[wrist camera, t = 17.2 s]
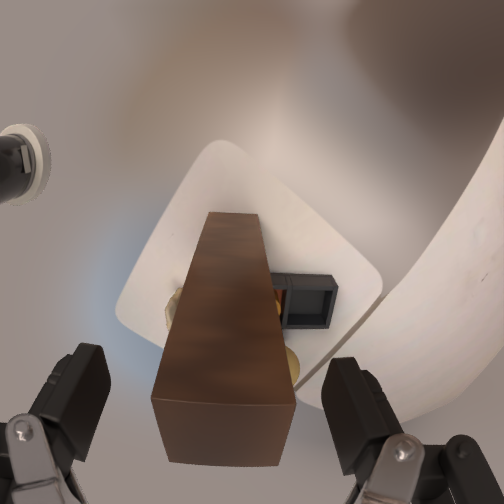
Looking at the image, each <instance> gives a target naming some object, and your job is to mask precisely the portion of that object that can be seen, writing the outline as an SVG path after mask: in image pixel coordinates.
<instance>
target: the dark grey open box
mask: <svg viewBox="0 0 504 504" xmlns="http://www.w3.org/2000/svg"><path fill="white" fill-rule="evenodd" d="M270 275H271V280H272V285H273V289H275V290H276V291H277V294H278V298H279V302H280V307H281V312H280V315H279V319H280V324H281V329H324V328H325V329H329V326H330V322H331V317H332V313H333V309H334V304H335V300H336V295H337V291H338V285H337V283H336V282H335V280H334V278H333V277H332V275H316V274H285V273H270Z"/></svg>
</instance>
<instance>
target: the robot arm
mask: <svg viewBox="0 0 504 504" xmlns="http://www.w3.org/2000/svg"><path fill="white" fill-rule="evenodd" d="M35 171H36V159H35V153H34V150H33V147H32V145H31V143H30V142H29V140H28V139H27V138H26V137H25V136H23V135H21V134H18V133H13V134H8V135H4V136H0V204H3V203H5V202H7V201H9V200H12V199H15V198H18V197H20V196H22V195H24V194H25V193H26V192H27V191H28V190H29V188H30V187H31V185H32V183H33V180H34V177H35ZM110 388H111V378H110V373H109V370H108V366H107V363H106V359H105V355H104V351H103V348H102V347H101V346H100V345H94V344H88V343H80V344H79V345H78V347H77V349H76V350H75V352H74V353H73V355H70V354H67V355H66V356H65V357H64V358H62V359H61V360H60V361H58V362H57V364H56V366H55V367H54V369H53V371H52V374H50V376H49V377H48V379H47V382H46V383H45V384H44V386H43V387H42V389H41V391H40V393H39V394H38V396H37V398H36V399H35V401H34V403H33V405H32V407H31V409H30V410H29V412H28V413H27V414H19V415H16V416H14V417H13V418H12V419H10V420H9V422H8V423H0V504H89V503H88V501H87V500H86V497H85V496H84V493H83V491H82V489H81V487H80V485H79V483H78V480H77V478H76V476H75V473H74V471H73V469H72V467H71V465H72V463H73V460H74V459H76V460H79V461H82V462H85V459H86V457H87V454H88V451H89V448H90V444H91V442H92V439H93V436H94V433H95V430H96V427H97V425H98V422H99V419H100V416H101V414H102V411H103V408H104V406H105V403H106V400H107V397H108V395H109V392H110ZM321 400H322V405H323V408H324V411H325V415H326V418H327V421H328V424H329V428H330V431H331V434H332V438H333V441H334V444H335V448H336V451H337V455H338V458H339V461H340V465H341V468H342V472H343V475H344V476H345V475H351V474H355V477H356V482H355V483H354V485H353V487H352V489H351V491H350V493H349V495H348V497H347V498H346V500H345V502H344V504H410V502H411V503H412V504H455V503H456V504H504V496H503V494H502V492H501V489H500V487H499V485H498V483H497V481H496V479H495V477H494V475H493V473H492V471H491V469H490V467H489V465H488V463H487V461H486V459H485V457H484V455H483V453H482V451H481V449H480V447H479V445H478V444H477V442H476V441H475V440H474V439H473V438H471V437H469V436H467V435H456V436H453V437H452V438H451V439H450V440H449V441H448V442H447V443H446V445H423V444H422V443H421V442H420V441H419V440H418V439H417V438H416V437H414V436H412V435H410V434H405V433H404V432H403V430H402V428H401V426H400V424H399V422H398V420H397V418H396V416H395V414H394V412H393V410H392V408H391V406H390V404H389V402H388V400H387V398H386V396H385V394H384V392H382V388H381V386H380V384H379V382H378V380H377V379H376V378H375V377H374V376H373V375H372V374H371V373H370V372H369V371H367V370H360V368H359V365H358V363H357V361H356V360H355V358H354V357H343V358H332V359H331V361H330V364H329V367H328V371H327V374H326V377H325V380H324V383H323V386H322V391H321ZM449 488H450V490H451V493H452V495H453V498H454V500H455V503H454V500H453V498H452V495H451V493H450V490H449Z"/></svg>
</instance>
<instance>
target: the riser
mask: <svg viewBox="0 0 504 504" xmlns="http://www.w3.org/2000/svg"><path fill="white" fill-rule="evenodd" d="M151 402H152V405H153V409H154V413H155V417H156V420H157V424H158V427H159V431H160V434H161V437H162V441H163V444H164V447H165V450H166V453H167V456H168V459H169V462H175V463H184V464H195V465H209V466H231V467H233V466H234V467H259V466H260V467H264V466H278V465H279V462H280V459H281V455H282V452H283V449H284V446H285V442H286V439H287V435H288V432H289V429H290V426H291V422H292V418H293V415H294V412H295V408H296V399H295V394H294V388H293V383H292V378H291V373H290V368H289V363H288V358H287V353H286V348H285V343H284V338H283V333H282V329H281V324H280V319H279V314H278V309H277V304H276V299H275V295H274V290H273V285H272V280H271V275H270V271H269V266H268V261H267V256H266V252H265V247H264V242H263V238H262V233H261V228H260V224H259V219H258V215H257V214H242V213H220V212H209V213H208V216H207V219H206V221H205V224H204V227H203V230H202V233H201V236H200V238H199V241H198V244H197V247H196V250H195V253H194V256H193V259H192V262H191V265H190V268H189V271H188V274H187V277H186V280H185V283H184V286H183V289H182V292H181V295H180V299H179V302H178V305H177V308H176V311H175V315H174V318H173V321H172V324H171V328H170V331H169V334H168V338H167V341H166V344H165V348H164V352H163V355H162V359H161V362H160V366H159V369H158V373H157V376H156V380H155V384H154V387H153V391H152V395H151Z"/></svg>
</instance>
